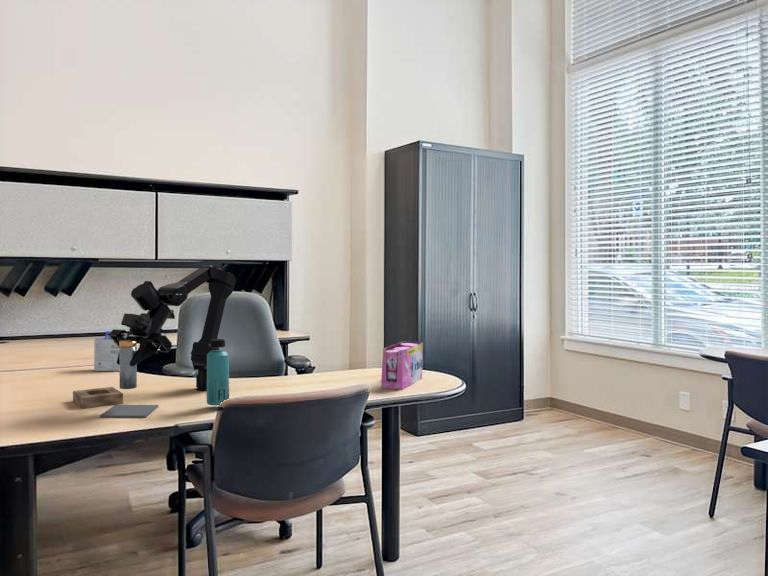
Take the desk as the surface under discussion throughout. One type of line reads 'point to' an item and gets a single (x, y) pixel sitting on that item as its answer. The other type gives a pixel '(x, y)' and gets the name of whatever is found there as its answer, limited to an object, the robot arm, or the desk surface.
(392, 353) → the gum box
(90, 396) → the brown square frame
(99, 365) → the ink cartridge box
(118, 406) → the mat
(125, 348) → the amber topped metal pillar
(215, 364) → the beverage bottle
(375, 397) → the desk surface
